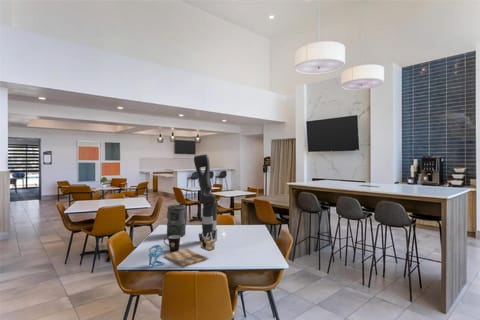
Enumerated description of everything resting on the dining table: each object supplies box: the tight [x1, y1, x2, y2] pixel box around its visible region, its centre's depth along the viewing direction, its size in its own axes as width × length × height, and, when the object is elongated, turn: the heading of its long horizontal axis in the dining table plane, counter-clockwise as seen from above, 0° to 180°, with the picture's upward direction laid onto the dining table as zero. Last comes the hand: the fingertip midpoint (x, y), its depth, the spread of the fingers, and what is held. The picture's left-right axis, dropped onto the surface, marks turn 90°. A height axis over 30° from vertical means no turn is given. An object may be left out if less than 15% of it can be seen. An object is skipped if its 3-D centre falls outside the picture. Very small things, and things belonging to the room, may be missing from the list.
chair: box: [147, 244, 166, 268], centre depth 170 cm, size 8×8×12 cm
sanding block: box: [200, 238, 216, 252], centre depth 187 cm, size 5×9×6 cm, turn 47°
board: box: [163, 248, 208, 268], centre depth 182 cm, size 18×24×2 cm
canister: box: [166, 202, 187, 238], centre depth 236 cm, size 16×16×28 cm
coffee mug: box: [163, 235, 181, 253], centre depth 198 cm, size 12×9×10 cm
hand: (207, 246), depth 187 cm, fingers closed on sanding block, 5 cm apart
